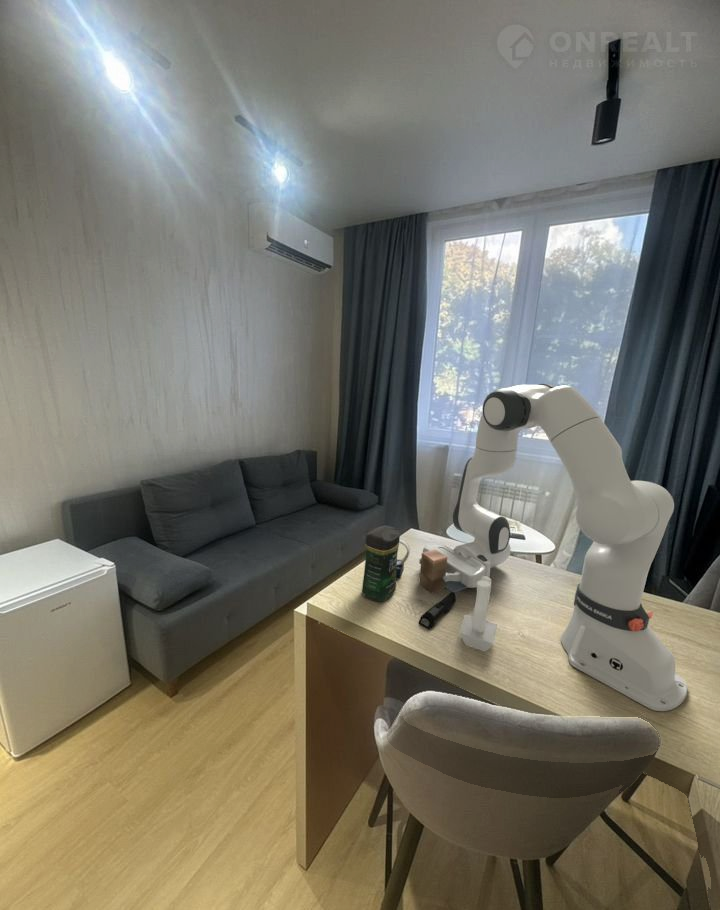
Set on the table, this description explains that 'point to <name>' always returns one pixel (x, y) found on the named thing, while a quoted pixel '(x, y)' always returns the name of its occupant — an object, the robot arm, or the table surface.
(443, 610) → the electric trimmer
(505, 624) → the table surface
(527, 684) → the table surface
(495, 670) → the table surface
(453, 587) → the slate pad
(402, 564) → the watch
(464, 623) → the white peg stand
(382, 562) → the coffee jar
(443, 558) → the walnut block
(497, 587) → the table surface
